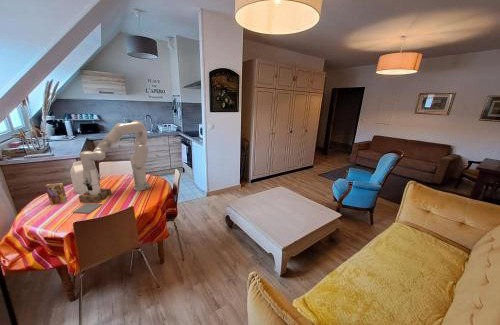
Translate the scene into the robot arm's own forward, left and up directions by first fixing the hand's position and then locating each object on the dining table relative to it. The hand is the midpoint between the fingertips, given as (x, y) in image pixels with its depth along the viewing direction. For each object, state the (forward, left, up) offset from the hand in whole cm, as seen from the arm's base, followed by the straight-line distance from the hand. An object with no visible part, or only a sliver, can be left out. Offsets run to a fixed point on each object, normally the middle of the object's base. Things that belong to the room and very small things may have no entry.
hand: (94, 188), depth 157 cm
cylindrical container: (0, 0, -9) cm, 9 cm away
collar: (0, 0, -9) cm, 9 cm away
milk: (+20, -13, -9) cm, 26 cm away
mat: (-6, +16, -9) cm, 19 cm away
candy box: (+22, +9, -9) cm, 25 cm away
